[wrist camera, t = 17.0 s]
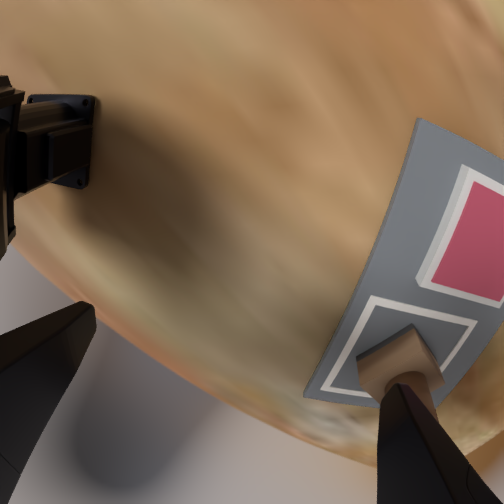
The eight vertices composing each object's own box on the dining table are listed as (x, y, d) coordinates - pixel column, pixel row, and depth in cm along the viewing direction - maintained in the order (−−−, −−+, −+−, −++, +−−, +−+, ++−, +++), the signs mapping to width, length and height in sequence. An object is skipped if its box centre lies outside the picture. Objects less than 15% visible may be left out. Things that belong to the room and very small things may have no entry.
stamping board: (303, 391, 26) (302, 407, 24) (417, 117, 15) (428, 119, 13) (430, 407, 25) (434, 421, 24) (557, 197, 15) (570, 205, 13)
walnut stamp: (355, 356, 22) (370, 547, 9) (411, 322, 20) (466, 517, 7) (384, 386, 24) (404, 549, 10) (435, 357, 22) (481, 521, 8)
